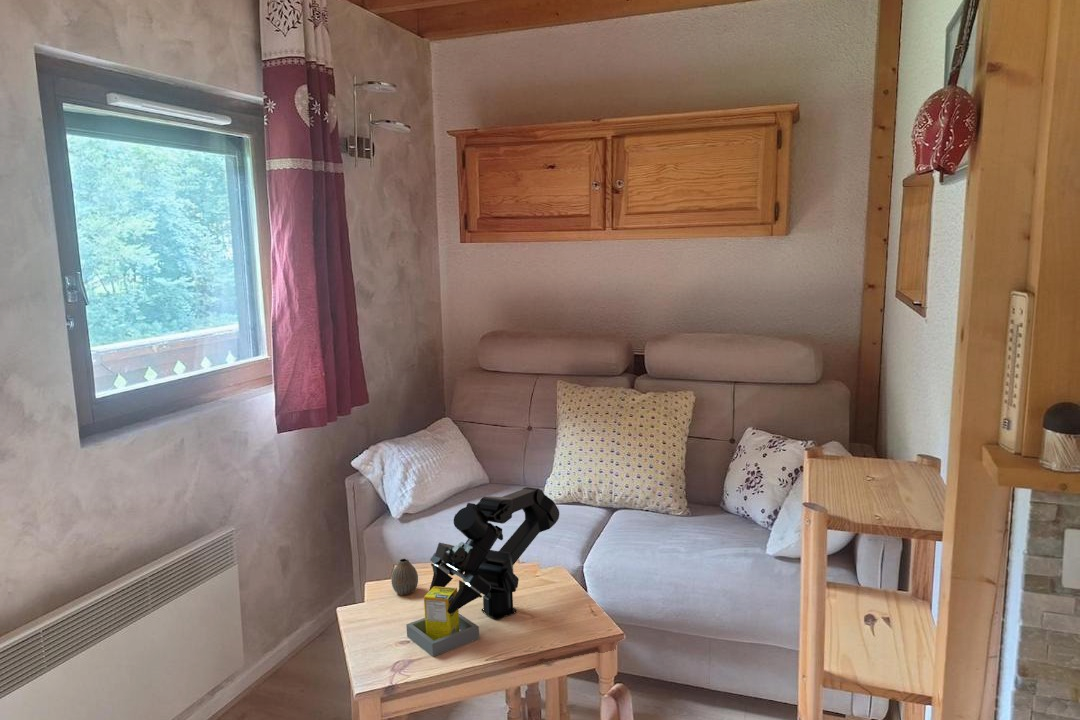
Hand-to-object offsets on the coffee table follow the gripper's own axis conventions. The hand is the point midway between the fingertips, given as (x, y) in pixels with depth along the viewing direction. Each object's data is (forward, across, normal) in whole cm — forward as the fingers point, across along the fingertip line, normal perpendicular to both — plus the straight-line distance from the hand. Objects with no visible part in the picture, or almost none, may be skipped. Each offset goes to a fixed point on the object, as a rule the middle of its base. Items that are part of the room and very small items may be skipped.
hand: (438, 605), depth 169 cm
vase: (+2, -28, +10) cm, 30 cm away
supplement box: (+5, 0, +6) cm, 8 cm away
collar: (+5, 0, +6) cm, 8 cm away
